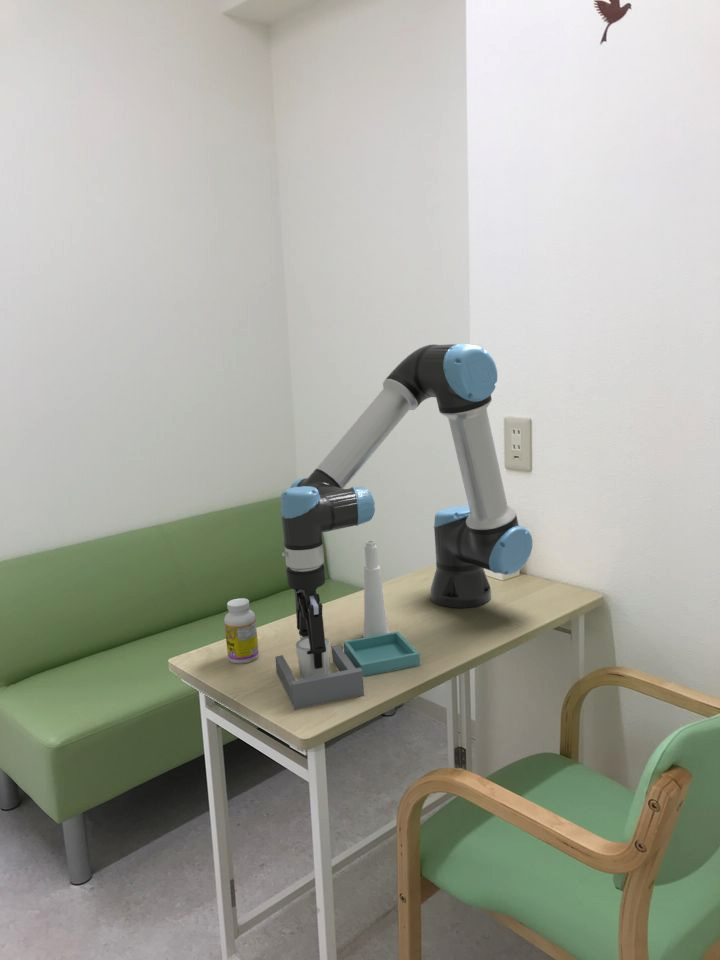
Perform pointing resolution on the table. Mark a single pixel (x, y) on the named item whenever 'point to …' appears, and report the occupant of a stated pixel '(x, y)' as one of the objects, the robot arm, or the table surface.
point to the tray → (381, 653)
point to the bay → (322, 682)
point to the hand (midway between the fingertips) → (313, 673)
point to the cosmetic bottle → (373, 594)
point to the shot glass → (303, 657)
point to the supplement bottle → (241, 632)
